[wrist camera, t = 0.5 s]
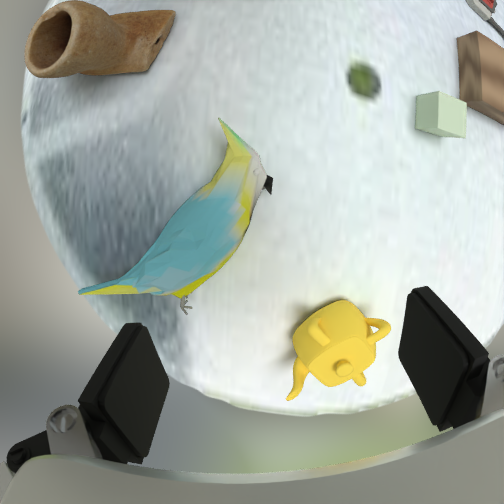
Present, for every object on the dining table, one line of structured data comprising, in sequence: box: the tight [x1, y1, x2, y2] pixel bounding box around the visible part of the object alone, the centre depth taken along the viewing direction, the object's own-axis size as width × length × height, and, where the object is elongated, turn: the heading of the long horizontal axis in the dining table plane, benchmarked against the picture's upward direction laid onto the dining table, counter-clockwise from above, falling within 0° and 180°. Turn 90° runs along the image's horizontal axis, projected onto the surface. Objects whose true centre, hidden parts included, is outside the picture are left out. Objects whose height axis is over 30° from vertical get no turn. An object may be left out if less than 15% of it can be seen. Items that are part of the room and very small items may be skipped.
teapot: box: [286, 300, 391, 401], centre depth 39 cm, size 14×13×10 cm
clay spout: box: [25, 0, 176, 78], centre depth 22 cm, size 15×12×15 cm
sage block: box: [415, 91, 467, 138], centre depth 29 cm, size 5×5×6 cm
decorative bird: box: [78, 118, 273, 315], centre depth 35 cm, size 14×30×9 cm, turn 135°
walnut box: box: [457, 31, 504, 125], centre depth 25 cm, size 12×12×6 cm
